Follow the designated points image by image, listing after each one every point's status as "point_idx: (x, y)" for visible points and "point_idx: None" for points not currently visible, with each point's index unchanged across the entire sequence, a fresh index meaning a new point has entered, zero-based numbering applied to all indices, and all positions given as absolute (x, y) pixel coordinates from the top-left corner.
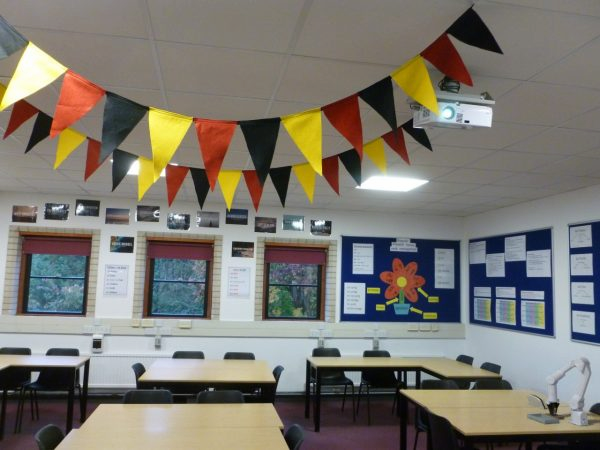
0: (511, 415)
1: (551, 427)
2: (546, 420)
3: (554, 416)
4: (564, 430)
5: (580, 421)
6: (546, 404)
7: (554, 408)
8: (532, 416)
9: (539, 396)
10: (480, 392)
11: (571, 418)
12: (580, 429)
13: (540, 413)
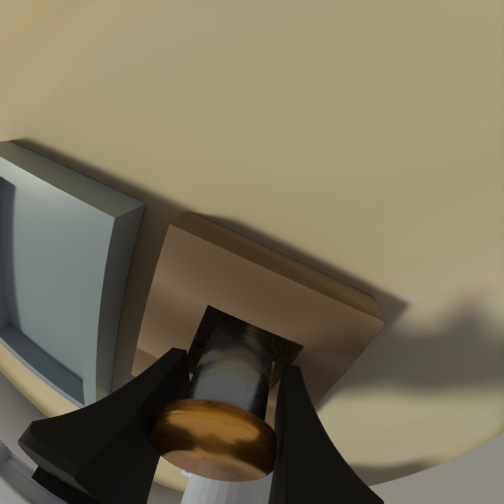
0: (3, 34)
1: (13, 359)
2: (4, 343)
3: None
4: (42, 407)
5: (184, 494)
6: (36, 424)
7: (182, 465)
8: None
9: None
10: None
11: (199, 479)
12: None
13: (89, 218)
